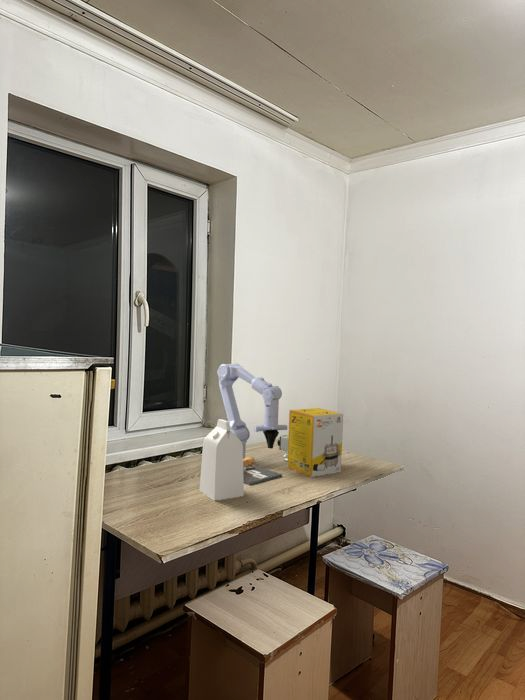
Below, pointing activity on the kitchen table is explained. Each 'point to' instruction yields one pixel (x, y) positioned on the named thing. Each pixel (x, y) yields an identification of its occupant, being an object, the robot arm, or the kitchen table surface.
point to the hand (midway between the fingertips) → (270, 447)
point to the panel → (251, 479)
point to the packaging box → (315, 441)
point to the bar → (248, 461)
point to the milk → (222, 464)
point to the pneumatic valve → (283, 445)
